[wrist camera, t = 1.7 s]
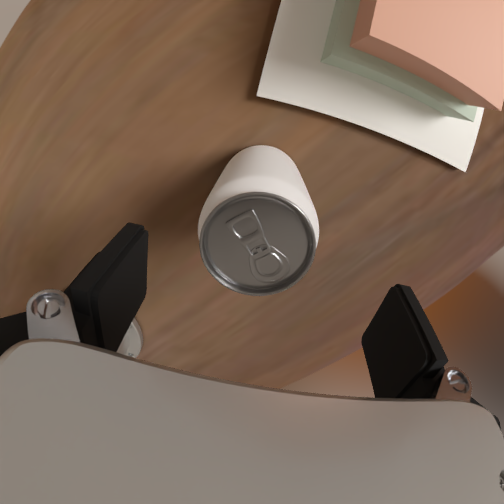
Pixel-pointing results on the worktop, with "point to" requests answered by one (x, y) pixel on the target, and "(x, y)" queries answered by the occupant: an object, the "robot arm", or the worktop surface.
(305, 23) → the tiered block pedestal
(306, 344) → the worktop surface
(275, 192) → the can
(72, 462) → the robot arm
